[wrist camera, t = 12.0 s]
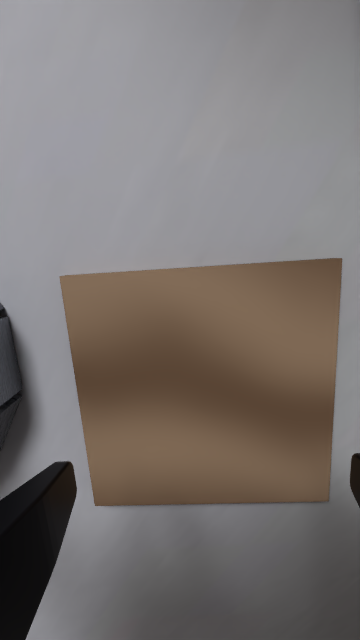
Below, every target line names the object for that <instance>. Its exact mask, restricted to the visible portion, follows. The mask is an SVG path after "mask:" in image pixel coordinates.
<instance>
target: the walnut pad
mask: <svg viewBox="0 0 360 640" xmlns="http://www.w3.org/2000/svg"><path fill="white" fill-rule="evenodd" d="M341 270H342V258H330V259H315V260H299V261H283V262H268V263H252V264H237V265H221V266H205V267H190V268H174V269H159V270H143V271H127V272H112V273H96V274H81V275H65V276H60V283H61V289H62V296H63V302H64V309H65V315H66V322H67V328H68V335H69V341H70V348H71V354H72V360H73V367H74V373H75V380H76V386H77V393H78V399H79V406H80V412H81V419H82V425H83V432H84V438H85V445H86V451H87V457H88V464H89V470H90V477H91V483H92V490H93V496H94V503H95V506H113V505H164V504H215V503H265V502H316V501H329V486H330V468H331V450H332V432H333V414H334V396H335V378H336V360H337V342H338V324H339V306H340V288H341Z"/></svg>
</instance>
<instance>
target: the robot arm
mask: <svg viewBox="0 0 360 640" xmlns="http://www.w3.org/2000/svg"><path fill="white" fill-rule="evenodd" d="M350 486H351V490H352V492H353V495H354V497H355V499H356V501H357V503H358V505H359V508H360V453H355V454H354V455H353V456H352V460H351V473H350ZM76 493H77V487H76V481H75V475H74V469H73V465H72V463H71V462H69V461H64V462H55V463H53V464H52V465H50V466H49V467H47V468H46V469H45V470H43V471H42V472H40V473H39V474H37V475H36V476H35V477H33V478H32V479H30V480H29V481H27V482H26V483H25V484H23V485H22V486H20V487H19V488H17V489H16V490H15V491H13V492H12V493H10V494H9V495H7V496H6V497H5V498H3V499H2V500H0V640H25V639H26V637H27V634H28V632H29V629H30V627H31V624H32V622H33V619H34V617H35V614H36V612H37V609H38V607H39V604H40V602H41V599H42V597H43V594H44V592H45V589H46V587H47V584H48V582H49V579H50V577H51V574H52V572H53V569H54V566H55V564H56V561H57V558H58V555H59V552H60V548H61V545H62V542H63V538H64V535H65V532H66V528H67V525H68V522H69V518H70V515H71V512H72V508H73V505H74V502H75V498H76Z"/></svg>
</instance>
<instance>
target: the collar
mask: <svg viewBox="0 0 360 640" xmlns="http://www.w3.org/2000/svg"><path fill="white" fill-rule="evenodd" d="M3 309H4V307H3V306H2V305H1V304H0V311H1V310H3ZM21 389H22V384H21V379H20V374H19V369H18V364H17V359H16V354H15V349H14V344H13V339H12V334H11V329H10V324H9V319H8V316H6V317H0V449H1V447H2V444H3V442H4V439H5V437H6V434H7V432H8V429H9V427H10V424H11V422H12V419H13V417H14V414H15V412H16V409H17V407H18V404H19V402H20V399H21V397H22V396H21V395H19V394H16V393H17V392H19V391H20V390H21Z"/></svg>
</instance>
